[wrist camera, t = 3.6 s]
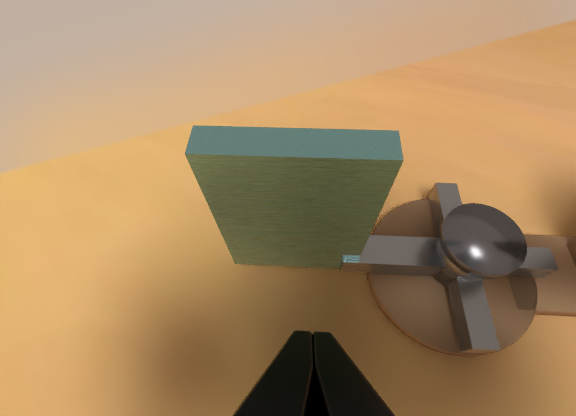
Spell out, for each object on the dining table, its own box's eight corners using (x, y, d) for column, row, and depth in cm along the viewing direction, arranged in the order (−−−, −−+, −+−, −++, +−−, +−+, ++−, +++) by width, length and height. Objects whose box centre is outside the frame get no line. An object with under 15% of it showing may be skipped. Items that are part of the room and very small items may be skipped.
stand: (671, 368, 16) (1130, 332, 7) (371, 350, 16) (455, 298, 8) (591, 211, 20) (809, 74, 12) (361, 202, 21) (406, 67, 12)
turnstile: (570, 358, 15) (890, 314, 7) (223, 338, 16) (148, 277, 8) (512, 197, 19) (661, 59, 11) (246, 188, 20) (214, 53, 12)
